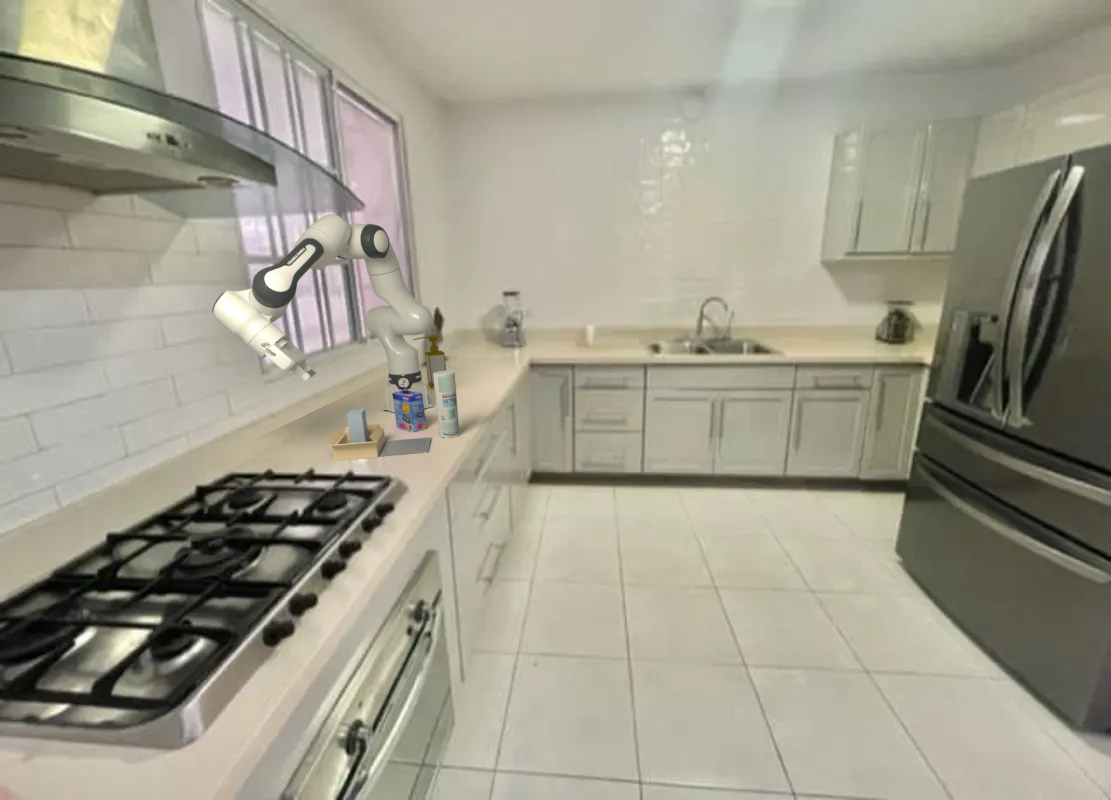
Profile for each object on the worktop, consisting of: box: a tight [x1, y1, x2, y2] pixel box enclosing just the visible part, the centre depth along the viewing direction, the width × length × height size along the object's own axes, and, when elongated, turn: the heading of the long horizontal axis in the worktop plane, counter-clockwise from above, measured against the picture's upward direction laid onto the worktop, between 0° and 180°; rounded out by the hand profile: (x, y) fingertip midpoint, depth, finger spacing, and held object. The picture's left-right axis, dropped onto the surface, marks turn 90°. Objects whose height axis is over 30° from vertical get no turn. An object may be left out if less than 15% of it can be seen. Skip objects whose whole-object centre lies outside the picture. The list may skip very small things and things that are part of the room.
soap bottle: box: [412, 334, 447, 388], centre depth 243 cm, size 7×13×24 cm, turn 115°
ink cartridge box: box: [392, 386, 427, 432], centre depth 178 cm, size 10×6×14 cm, turn 51°
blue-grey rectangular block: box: [346, 408, 369, 443], centre depth 156 cm, size 5×4×12 cm
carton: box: [324, 423, 386, 462], centre depth 157 cm, size 19×14×6 cm
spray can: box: [433, 370, 460, 438], centre depth 167 cm, size 6×6×20 cm
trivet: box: [379, 436, 432, 457], centre depth 159 cm, size 13×13×1 cm
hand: (311, 376), depth 150 cm, fingers open, 8 cm apart
